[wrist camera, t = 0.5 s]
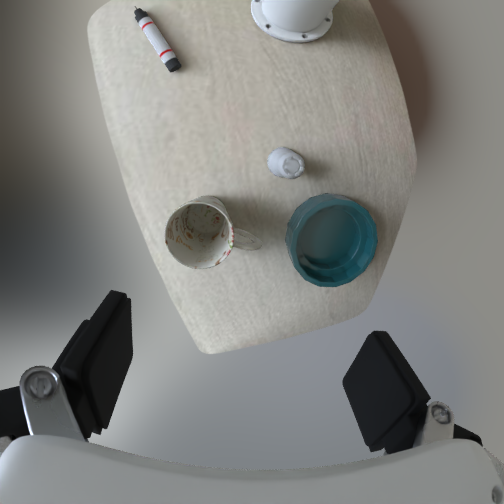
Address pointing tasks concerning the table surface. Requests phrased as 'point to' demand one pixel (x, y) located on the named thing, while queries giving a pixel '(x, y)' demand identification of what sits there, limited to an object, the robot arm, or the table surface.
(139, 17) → the marker
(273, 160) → the rook chess piece
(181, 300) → the table surface
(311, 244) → the bowl
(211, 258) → the mug
